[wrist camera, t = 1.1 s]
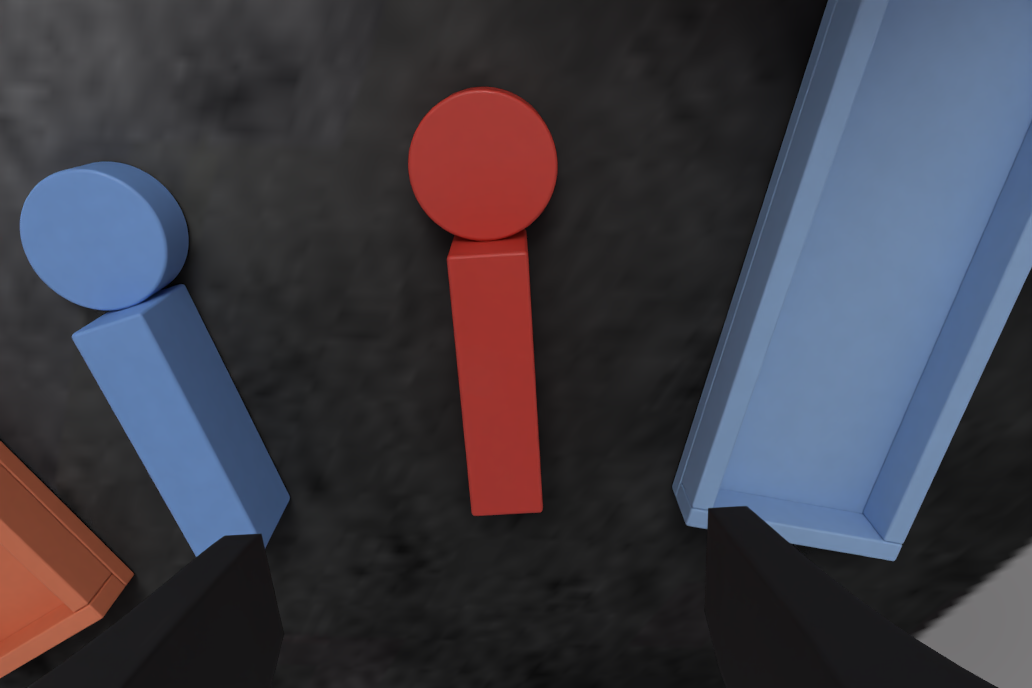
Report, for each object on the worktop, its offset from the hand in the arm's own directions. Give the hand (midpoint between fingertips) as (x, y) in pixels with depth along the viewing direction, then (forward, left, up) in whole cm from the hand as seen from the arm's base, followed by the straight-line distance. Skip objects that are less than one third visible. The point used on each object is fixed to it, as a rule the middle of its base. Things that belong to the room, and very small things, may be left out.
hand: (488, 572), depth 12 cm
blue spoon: (+5, +6, -6) cm, 10 cm away
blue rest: (-1, -9, -6) cm, 11 cm away
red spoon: (+3, -1, -6) cm, 7 cm away
